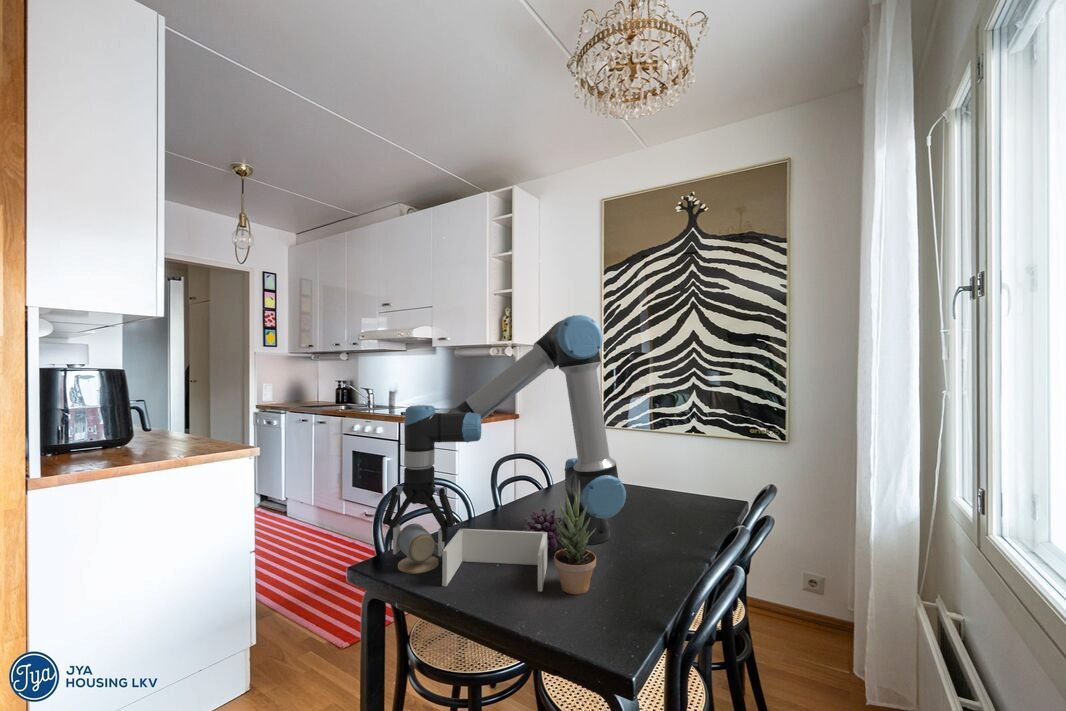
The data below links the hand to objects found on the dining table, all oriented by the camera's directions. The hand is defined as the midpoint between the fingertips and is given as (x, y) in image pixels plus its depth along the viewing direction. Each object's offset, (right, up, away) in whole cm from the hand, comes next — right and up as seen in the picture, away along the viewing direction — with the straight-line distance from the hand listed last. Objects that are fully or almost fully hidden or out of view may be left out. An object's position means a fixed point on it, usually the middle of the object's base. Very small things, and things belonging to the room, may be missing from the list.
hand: (418, 553), depth 118 cm
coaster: (0, -3, 0) cm, 3 cm away
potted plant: (+39, -3, -12) cm, 41 cm away
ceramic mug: (+1, -1, +1) cm, 2 cm away
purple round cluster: (+32, -4, +9) cm, 33 cm away
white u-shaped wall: (+21, -3, -5) cm, 21 cm away
